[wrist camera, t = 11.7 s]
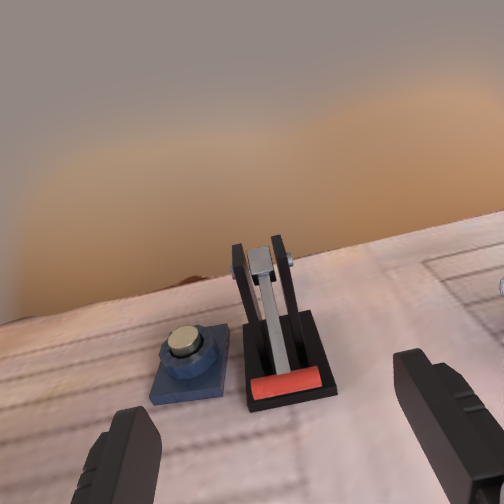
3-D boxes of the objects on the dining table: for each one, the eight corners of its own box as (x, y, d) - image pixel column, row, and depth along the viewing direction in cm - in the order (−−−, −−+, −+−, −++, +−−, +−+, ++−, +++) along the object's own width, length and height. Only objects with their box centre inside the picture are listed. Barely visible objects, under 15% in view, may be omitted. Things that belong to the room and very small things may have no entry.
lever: (321, 388, 27) (322, 383, 25) (256, 402, 28) (251, 397, 25) (286, 254, 34) (284, 241, 32) (235, 265, 35) (230, 253, 33)
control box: (223, 396, 36) (214, 374, 35) (153, 405, 37) (141, 385, 36) (230, 331, 45) (223, 311, 43) (173, 340, 46) (164, 321, 44)
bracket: (338, 395, 34) (319, 273, 26) (249, 413, 34) (208, 298, 27) (311, 317, 44) (293, 214, 37) (244, 331, 45) (213, 233, 37)
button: (199, 356, 38) (195, 345, 37) (169, 361, 38) (164, 350, 38) (204, 334, 41) (200, 323, 40) (176, 338, 42) (171, 327, 41)
